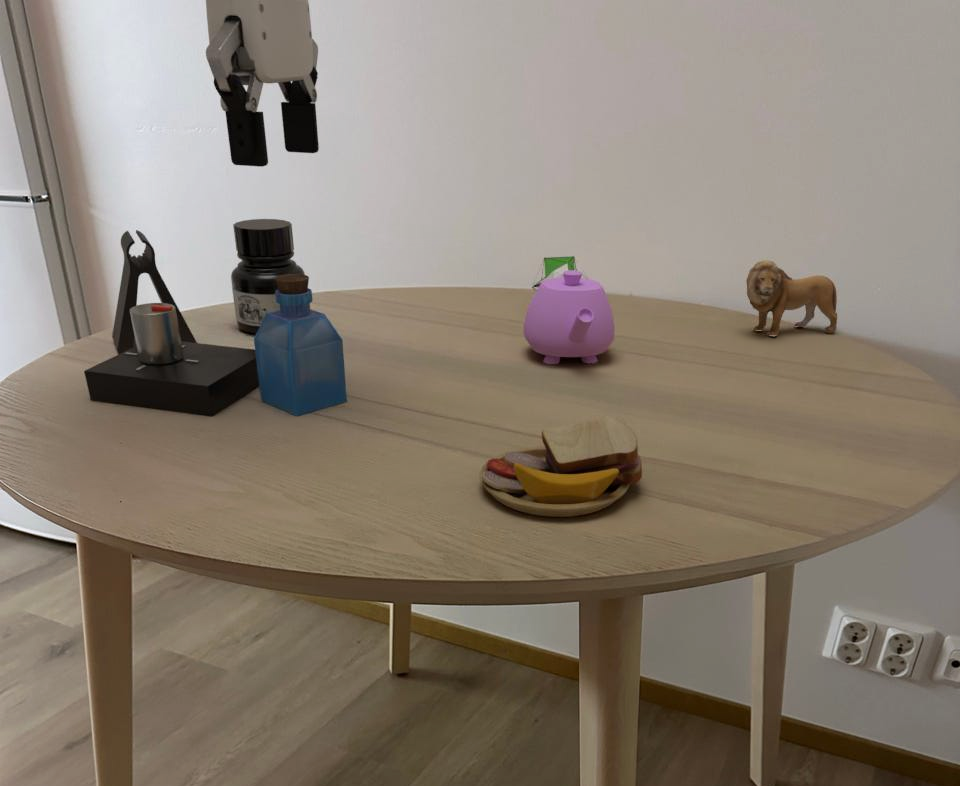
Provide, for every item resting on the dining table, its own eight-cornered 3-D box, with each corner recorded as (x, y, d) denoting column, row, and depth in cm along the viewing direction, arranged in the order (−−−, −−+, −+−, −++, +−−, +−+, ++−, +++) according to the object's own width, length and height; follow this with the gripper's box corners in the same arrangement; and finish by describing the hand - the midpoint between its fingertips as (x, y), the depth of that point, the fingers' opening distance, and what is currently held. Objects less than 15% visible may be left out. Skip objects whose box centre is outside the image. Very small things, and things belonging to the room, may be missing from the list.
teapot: (598, 338, 114) (605, 258, 109) (627, 377, 102) (636, 289, 96) (515, 339, 113) (518, 258, 108) (534, 379, 101) (538, 290, 95)
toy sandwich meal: (477, 458, 83) (478, 407, 80) (628, 459, 83) (633, 408, 80) (480, 522, 72) (481, 465, 69) (652, 522, 72) (659, 466, 70)
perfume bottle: (310, 386, 98) (300, 267, 91) (346, 401, 94) (338, 278, 88) (261, 399, 94) (246, 276, 88) (296, 415, 91) (283, 289, 84)
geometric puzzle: (524, 283, 128) (536, 241, 120) (571, 281, 129) (586, 239, 122) (535, 326, 125) (548, 286, 118) (582, 323, 127) (598, 283, 119)
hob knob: (130, 362, 94) (119, 308, 91) (155, 349, 98) (145, 298, 95) (168, 366, 93) (158, 312, 90) (191, 354, 97) (183, 301, 94)
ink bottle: (220, 328, 115) (205, 225, 108) (269, 313, 121) (257, 214, 115) (279, 341, 111) (267, 234, 104) (326, 324, 117) (318, 222, 111)
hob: (90, 400, 94) (83, 369, 92) (157, 365, 103) (152, 336, 101) (212, 416, 90) (207, 384, 89) (270, 378, 100) (267, 349, 98)
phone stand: (189, 332, 114) (172, 227, 107) (197, 346, 109) (180, 237, 102) (112, 340, 111) (90, 232, 104) (117, 354, 106) (94, 242, 99)
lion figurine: (752, 344, 113) (766, 266, 108) (727, 332, 117) (739, 257, 112) (848, 332, 117) (866, 257, 112) (820, 321, 121) (836, 248, 116)
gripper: (263, -76, 80) (284, 146, 90) (147, -96, 66) (187, 168, 76) (342, -77, 78) (355, 149, 88) (240, -98, 65) (268, 173, 74)
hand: (277, 158), depth 82 cm, fingers open, 9 cm apart
